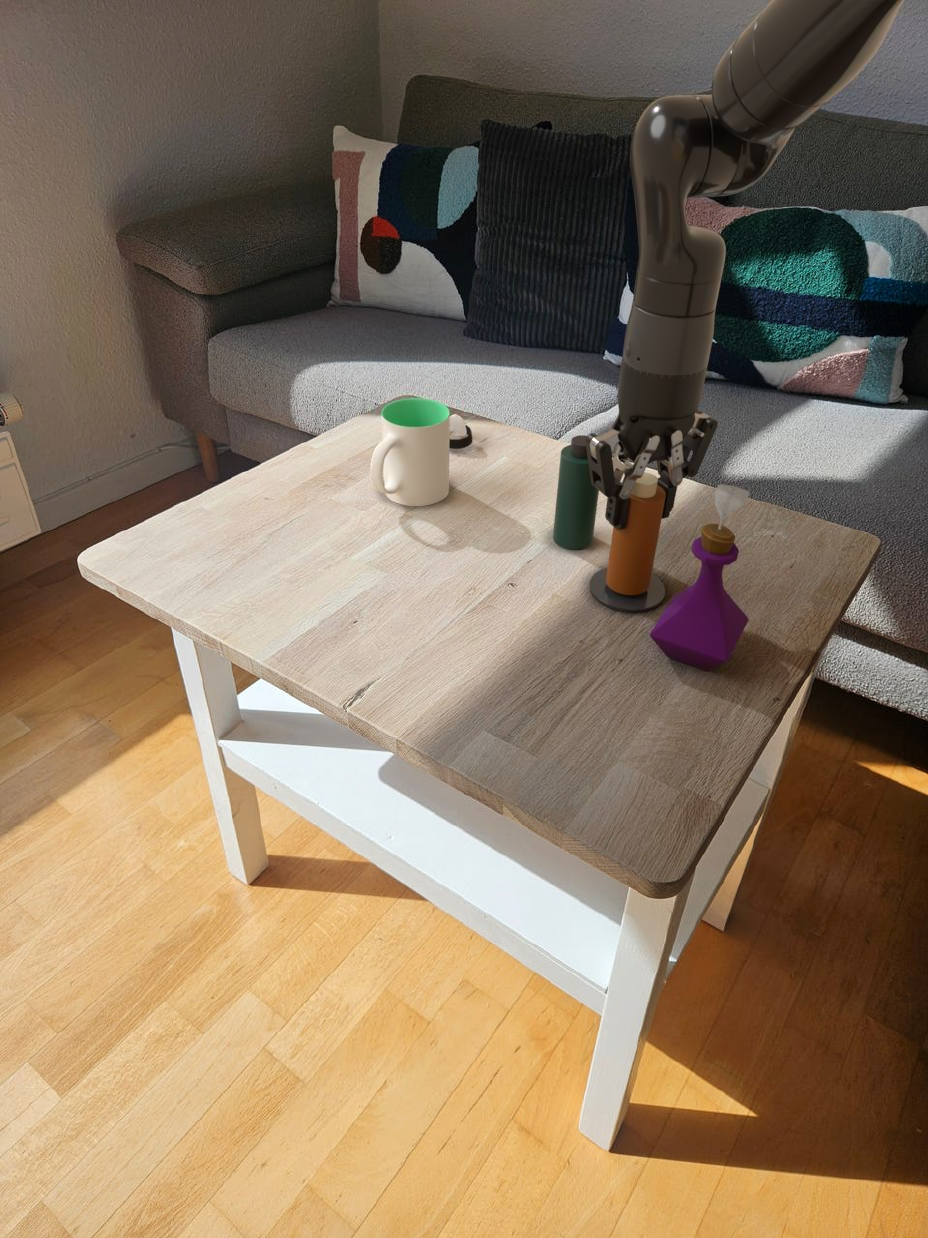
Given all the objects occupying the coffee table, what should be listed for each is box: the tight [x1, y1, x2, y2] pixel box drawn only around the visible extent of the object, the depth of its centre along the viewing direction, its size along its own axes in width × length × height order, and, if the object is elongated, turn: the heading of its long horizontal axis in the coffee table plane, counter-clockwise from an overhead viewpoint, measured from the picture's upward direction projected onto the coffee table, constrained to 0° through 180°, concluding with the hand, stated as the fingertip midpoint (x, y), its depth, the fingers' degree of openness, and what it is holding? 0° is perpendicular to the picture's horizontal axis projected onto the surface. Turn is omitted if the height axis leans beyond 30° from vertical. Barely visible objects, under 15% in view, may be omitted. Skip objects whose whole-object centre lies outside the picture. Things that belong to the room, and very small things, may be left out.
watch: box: [449, 413, 473, 450], centre depth 119 cm, size 8×5×4 cm, turn 43°
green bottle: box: [552, 434, 600, 551], centre depth 97 cm, size 5×5×12 cm
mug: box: [369, 397, 451, 507], centre depth 104 cm, size 12×8×10 cm, turn 149°
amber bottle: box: [606, 471, 666, 595], centre depth 89 cm, size 5×5×12 cm
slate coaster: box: [588, 566, 666, 613], centre depth 93 cm, size 8×8×1 cm
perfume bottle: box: [649, 484, 751, 672], centre depth 79 cm, size 8×8×18 cm
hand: (638, 519), depth 88 cm, fingers closed on amber bottle, 4 cm apart
